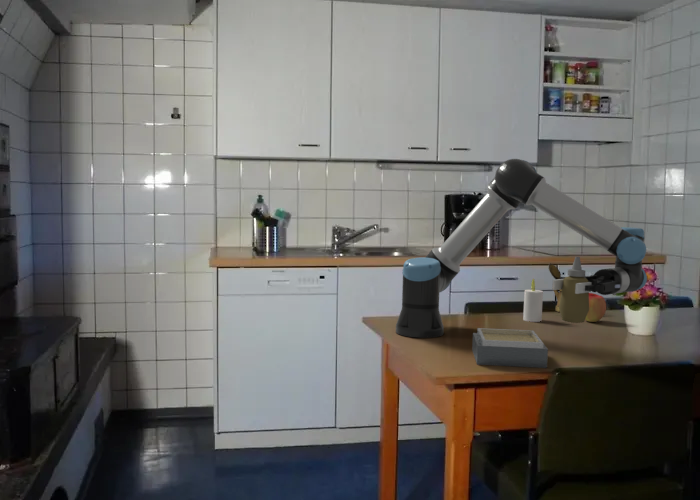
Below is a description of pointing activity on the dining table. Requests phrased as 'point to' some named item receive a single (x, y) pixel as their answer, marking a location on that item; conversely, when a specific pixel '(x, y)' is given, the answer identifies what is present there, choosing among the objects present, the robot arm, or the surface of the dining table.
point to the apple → (596, 308)
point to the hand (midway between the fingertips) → (565, 286)
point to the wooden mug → (556, 275)
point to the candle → (533, 304)
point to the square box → (509, 348)
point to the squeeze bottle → (574, 295)
